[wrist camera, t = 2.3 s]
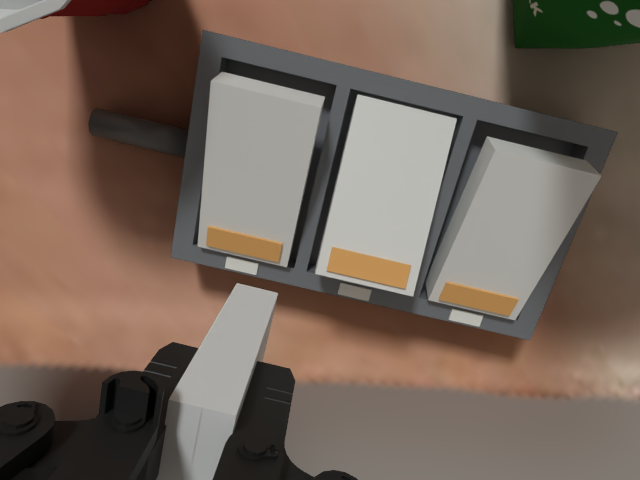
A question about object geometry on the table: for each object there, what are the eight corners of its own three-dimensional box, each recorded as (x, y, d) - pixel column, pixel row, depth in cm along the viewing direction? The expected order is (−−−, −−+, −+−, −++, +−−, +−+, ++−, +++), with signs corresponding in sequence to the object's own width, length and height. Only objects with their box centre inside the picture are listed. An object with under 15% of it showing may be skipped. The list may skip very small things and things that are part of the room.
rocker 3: (425, 280, 27) (428, 301, 25) (487, 136, 22) (495, 151, 21) (507, 299, 27) (515, 322, 26) (586, 160, 22) (603, 177, 21)
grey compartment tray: (96, 216, 29) (63, 233, 26) (113, 12, 25) (78, -1, 22) (508, 312, 30) (530, 341, 26) (582, 127, 26) (619, 132, 23)
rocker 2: (314, 269, 25) (315, 274, 23) (354, 103, 24) (357, 93, 22) (405, 290, 25) (413, 297, 23) (446, 125, 24) (457, 118, 22)
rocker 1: (207, 229, 27) (196, 247, 25) (222, 71, 22) (209, 81, 20) (292, 249, 27) (286, 268, 25) (325, 96, 22) (321, 108, 20)
